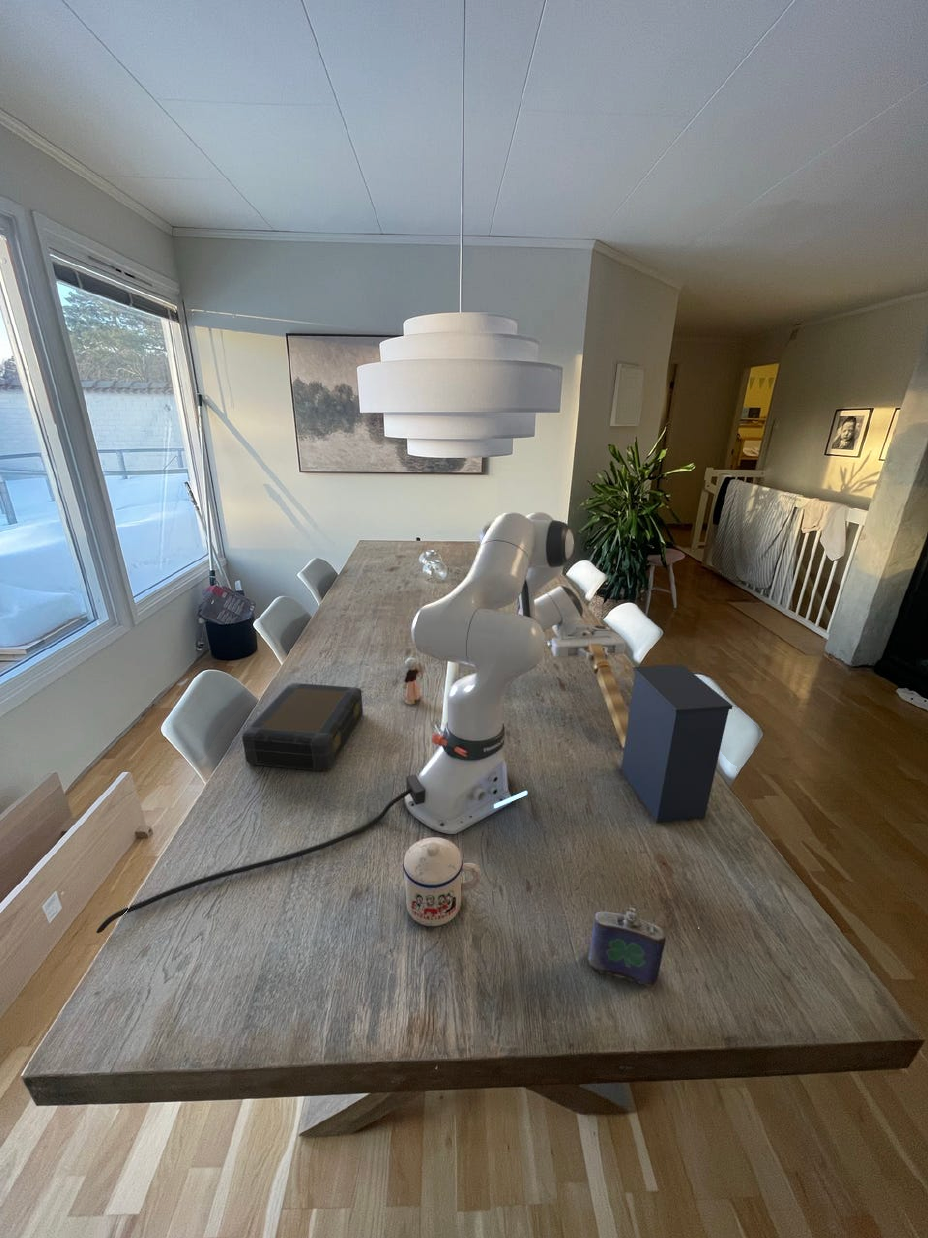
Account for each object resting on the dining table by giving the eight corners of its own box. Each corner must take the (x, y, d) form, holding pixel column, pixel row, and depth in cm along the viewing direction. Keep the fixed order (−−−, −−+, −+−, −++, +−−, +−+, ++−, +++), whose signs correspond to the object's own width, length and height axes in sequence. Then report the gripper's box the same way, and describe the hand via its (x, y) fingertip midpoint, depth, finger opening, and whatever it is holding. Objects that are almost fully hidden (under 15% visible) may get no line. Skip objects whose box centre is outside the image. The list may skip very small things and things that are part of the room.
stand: (619, 769, 113) (633, 667, 104) (664, 765, 114) (682, 664, 105) (655, 824, 98) (676, 709, 88) (707, 818, 99) (732, 705, 90)
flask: (587, 969, 72) (595, 913, 68) (589, 949, 74) (596, 894, 70) (657, 990, 69) (669, 933, 65) (656, 969, 72) (668, 913, 68)
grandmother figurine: (415, 707, 136) (414, 664, 132) (401, 706, 137) (399, 663, 133) (423, 693, 143) (422, 652, 139) (410, 692, 144) (408, 651, 140)
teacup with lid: (404, 932, 77) (402, 873, 72) (404, 881, 85) (402, 825, 81) (484, 924, 78) (486, 866, 74) (476, 875, 86) (478, 820, 82)
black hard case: (291, 706, 136) (287, 680, 134) (365, 712, 134) (363, 686, 131) (240, 765, 113) (235, 735, 110) (329, 773, 111) (326, 743, 108)
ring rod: (583, 652, 139) (588, 642, 136) (599, 651, 140) (603, 641, 137) (619, 750, 120) (625, 741, 117) (636, 748, 121) (643, 739, 118)
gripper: (545, 630, 146) (561, 648, 133) (613, 626, 149) (635, 644, 136) (544, 650, 148) (559, 670, 135) (611, 646, 151) (633, 666, 138)
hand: (598, 657), depth 135 cm, fingers closed on ring rod, 3 cm apart
